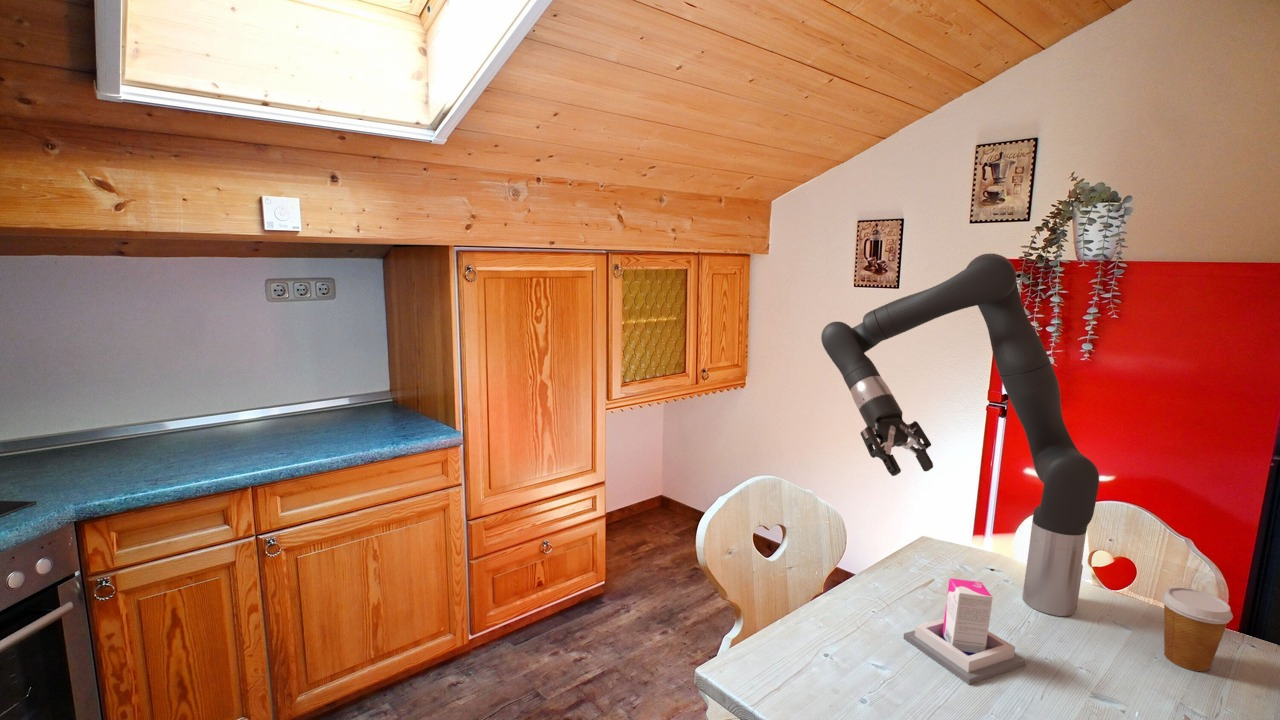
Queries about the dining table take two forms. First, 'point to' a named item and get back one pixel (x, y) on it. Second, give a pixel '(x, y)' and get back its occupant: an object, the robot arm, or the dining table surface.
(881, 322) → the robot arm
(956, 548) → the dining table surface
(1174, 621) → the disposable coffee cup
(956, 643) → the supplement box
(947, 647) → the socket
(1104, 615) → the dining table surface
